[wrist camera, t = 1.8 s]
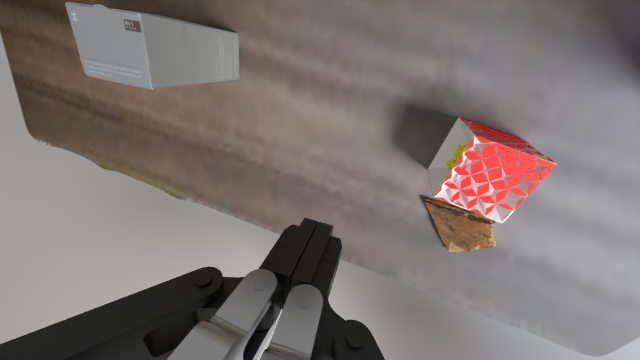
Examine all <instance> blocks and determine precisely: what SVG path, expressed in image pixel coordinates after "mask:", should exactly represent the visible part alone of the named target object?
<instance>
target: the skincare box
mask: <svg viewBox="0 0 640 360" xmlns="http://www.w3.org/2000/svg"><path fill="white" fill-rule="evenodd" d="M65 6H66V9H67V12H68V16H69V19H70V22H71V26H72V29H73V33H74V36H75V40H76V44H77V48H78V51H79V55H80V59H81V62H82V65H83V68H84V71H85V73H86V75H87V76H91V77H95V78H99V79H103V80H108V81H112V82H116V83H121V84H125V85H130V86H135V87H140V88H145V89H150V90H152V89H159V88H167V87H176V86H185V85H195V84H205V83H214V82H224V81H234V80H239V42H238V33H236V32H231V31H227V30H222V29H217V28H213V27H209V26H205V25H201V24H196V23H192V22H188V21H184V20H179V19H175V18H170V17H166V16H161V15H155V14H148V13H142V12H135V11H128V10H121V9H113V8H107V7H105V6H103V5H100V4H95V5H87V4H80V3H73V2H66V3H65Z"/></svg>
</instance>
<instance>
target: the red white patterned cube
mask: <svg viewBox="0 0 640 360" xmlns="http://www.w3.org/2000/svg"><path fill="white" fill-rule="evenodd" d="M556 165H557V164H556V163H555V162H554V161H552V160H551V159H550V158H548V157H546V156H545V155H544V154H542V153H541V152H540V151H538V150H537V149H535V148H534V147H533V146H531V145H530V144H529V143H527V142H526V141H525V140H523V139H521V138H518V137H515V136H512V135H509V134H506V133H503V132H501V131H498V130H495V129H492V128H489V127H486V126H483V125H480V124H477V123H474V122H472V121H469V120H466V119H463V118H459V117H458V119H457V121H456V122H455V124H454V126H453V127H452V129H451V131H450V132H449V134H448V136H447V137H446V139H445V141H444V142H443V144H442V146H441V148H440V149H439V151H438V153H437V154H436V156H435V158H434V159H433V161H432V163H431V164H430V166H429V168H428V174H429V178H430V183H431V187H432V191H433V196H434V197H435V198H437V199H440V200H443V201H445V202H448V203H451V204H453V205H456V206H458V207H461V208H463V209H466V210H469V211H471V212H474V213H476V214H479V215H482V216H484V217H487V218H489V219H492V220H494V221H497V222H500V223H503V222H504V221H505V220H506V219H507V218H508V217H509V216H510V215H511V214H512V213H513V211H514V210H515V209H516V208H517V207H518V206H519V205H520V204H521V203H522V202H523V201H524V199H525V198H526V197H527V196H528V195H529V194H530V193H531V192H532V191H533V190H534V189H535V188H536V187H537V185H538V184H539V183H540V182H541V181H542V180H543V179H544V178H545V177H546V176H547V175H548V173H549V172H550V171H551V170H552V169H553V168H554V167H555V166H556Z"/></svg>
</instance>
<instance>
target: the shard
mask: <svg viewBox="0 0 640 360" xmlns="http://www.w3.org/2000/svg"><path fill="white" fill-rule="evenodd" d="M424 201H425V204H426V206H427V208H428V210H429V211H430V213H431V215H432V217H433V220H434V223H435V226H436V228H437V230H438V233H439V235H440V236H441V239H442V241H443V243H444V244H445V245H446V246H447V249H448V251H449V252H465V251H471V250H477V249H482V248H490V247H494V246H495V245H496V242H495V240H494V236H493V224H494V223H495V221H494V220H492V219H489V218H487V217H484V216H480V215H478V214H475V213H469V212H467V211H464V210H462V209H460V208H457V207H454V206H451V205H449V204H446V203H443V202H439V201H434V200H431V199H424Z"/></svg>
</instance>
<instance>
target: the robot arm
mask: <svg viewBox="0 0 640 360" xmlns="http://www.w3.org/2000/svg"><path fill="white" fill-rule="evenodd" d="M332 232H333V226H332V225H329V224H325V223H322V222H318V221H315V220H311V219H308V218H304V219H303V221H302V223H301V225H300V226H296V225H293V224H292V225H291V226H289V227H288V228H286V229H285V230H284V231H283V233H282V234H281V236H280V238H279V239H278V240H277V242H276V244H275V245H274V247H273V248H272V250H271V251H270V252H269V254H268V256H267V257H266V259H265V260H264V262H263V263H262V265H261V266H260V267H259V269H257V270H254V271H252V272H250V273H249V274H247V275H246V276H245V277H240V278H235V277H223V276H222V273H221V271H220V270H218V269H217V268H214V267H204V268H200V269H198V270H195V271H192V272H190V273H187V274H185V275H182V276H179V277H176V278H174V279H171V280H169V281H166V282H163V283H161V284H158V285H156V286H153V287H150V288H148V289H145V290H143V291H140V292H137V293H134V294H132V295H129V296H127V297H124V298H121V299H118V300H116V301H113V302H111V303H108V304H105V305H103V306H100V307H98V308H95V309H92V310H90V311H87V312H84V313H82V314H79V315H76V316H74V317H71V318H68V319H66V320H63V321H61V322H58V323H55V324H53V325H50V326H48V327H45V328H42V329H40V330H37V331H34V332H32V333H29V334H27V335H24V336H21V337H19V338H16V339H13V340H11V341H8V342H5V343H3V344H0V360H257V358H258V356H259V354H260V352H261V351H262V349H263V347H264V345H265V343H266V341H267V340H268V338H269V336H270V334H271V332H272V331H273V329H274V327H275V323H276V319H277V317H278V315H279V313H280V311H281V309H282V310H283V311H282V313H281V316H280V318H279V321H278V323H277V326H276V329H275V331H274V334H273V337H272V339H271V342H270V344H269V346H268V348H267V349H266V350H265V351H264V352H263V354H262V356H261V358H260V360H385V359H384V357H383V355H382V353H381V351H380V349H379V347H378V345H377V343H376V341H375V339H374V337H373V336H372V334H371V332H370V331H369V329H368V328H367V327H366V326H365V325H364V324H362V323H361V322H359V321H356V320H346V321H345V320H344V319H343V318H341V317H340V316H339V315H337V314H336V313H335V312H334V311H333V310H332V308H331V306H330V304H329V301H328V297H329V294H330V290H331V288H332V284H333V281H334V278H335V274H336V271H337V268H338V263H339V259H340V254H341V250H342V245H341V240H340V239H339V238H336V237H333V236H332Z"/></svg>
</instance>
